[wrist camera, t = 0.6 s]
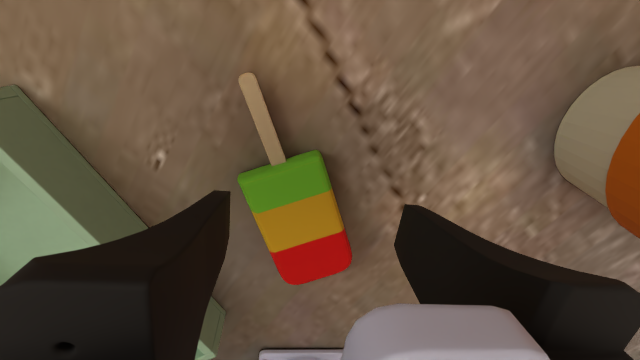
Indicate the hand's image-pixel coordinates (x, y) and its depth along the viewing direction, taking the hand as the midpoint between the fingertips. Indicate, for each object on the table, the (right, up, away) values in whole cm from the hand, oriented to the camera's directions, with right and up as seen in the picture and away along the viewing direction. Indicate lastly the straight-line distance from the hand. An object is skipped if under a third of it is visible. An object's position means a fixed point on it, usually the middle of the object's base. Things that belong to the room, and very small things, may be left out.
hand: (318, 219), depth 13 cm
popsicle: (-2, +2, +9) cm, 9 cm away
